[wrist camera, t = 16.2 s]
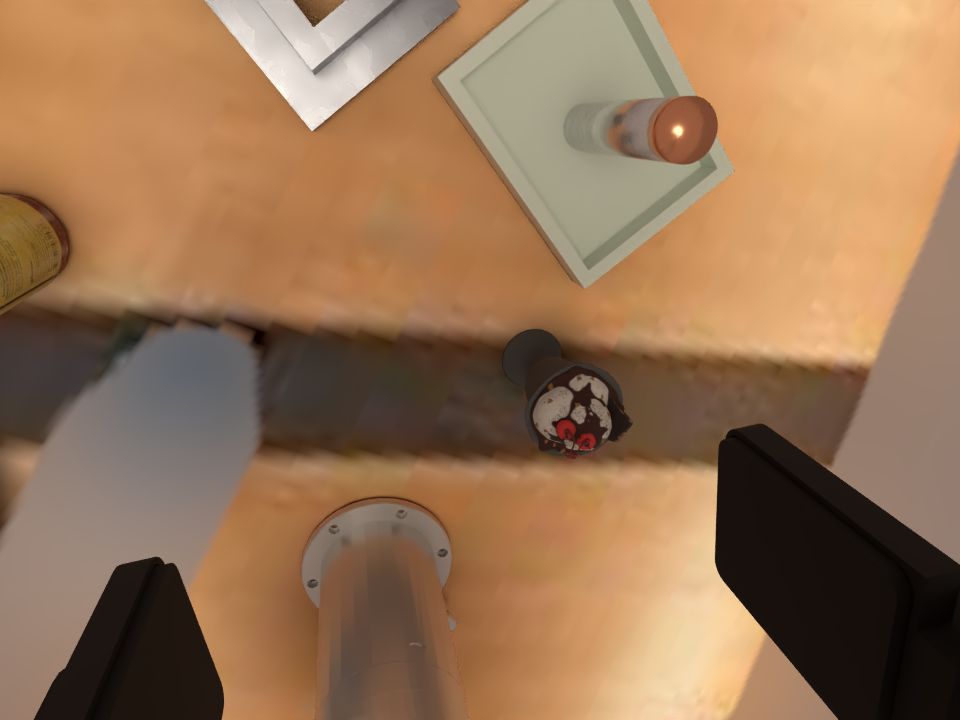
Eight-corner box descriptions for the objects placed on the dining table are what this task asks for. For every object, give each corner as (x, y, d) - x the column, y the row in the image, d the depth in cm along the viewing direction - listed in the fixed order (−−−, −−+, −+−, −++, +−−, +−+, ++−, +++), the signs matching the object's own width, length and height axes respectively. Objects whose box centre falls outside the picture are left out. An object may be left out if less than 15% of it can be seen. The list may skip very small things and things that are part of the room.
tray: (713, 168, 47) (734, 171, 45) (571, 280, 48) (584, 289, 46) (595, -57, 40) (612, -69, 38) (431, 79, 41) (437, 76, 39)
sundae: (474, 360, 49) (526, 454, 35) (537, 302, 48) (615, 374, 35) (526, 412, 52) (594, 518, 38) (586, 357, 51) (678, 444, 37)
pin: (605, 99, 43) (718, 91, 30) (607, 148, 45) (716, 160, 32) (561, 105, 43) (657, 99, 30) (564, 154, 44) (657, 169, 31)
